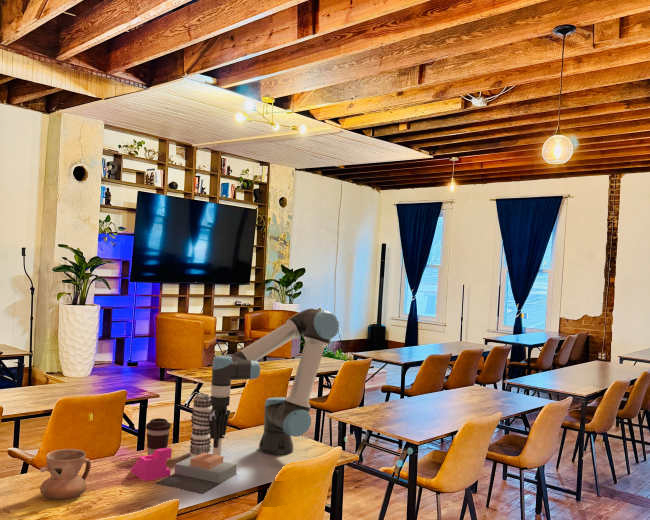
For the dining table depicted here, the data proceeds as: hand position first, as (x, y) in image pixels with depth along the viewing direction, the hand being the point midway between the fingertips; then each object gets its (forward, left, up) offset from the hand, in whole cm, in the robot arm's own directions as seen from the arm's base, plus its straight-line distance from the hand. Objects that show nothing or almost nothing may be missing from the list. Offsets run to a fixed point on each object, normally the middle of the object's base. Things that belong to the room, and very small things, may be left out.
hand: (216, 455), depth 239 cm
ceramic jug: (+49, -29, -6) cm, 57 cm away
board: (+8, 0, -5) cm, 9 cm away
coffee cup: (0, -29, -6) cm, 29 cm away
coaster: (+7, 0, -1) cm, 7 cm away
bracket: (+17, -18, -6) cm, 26 cm away
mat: (+17, 0, -5) cm, 18 cm away
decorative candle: (-12, -16, -6) cm, 21 cm away
